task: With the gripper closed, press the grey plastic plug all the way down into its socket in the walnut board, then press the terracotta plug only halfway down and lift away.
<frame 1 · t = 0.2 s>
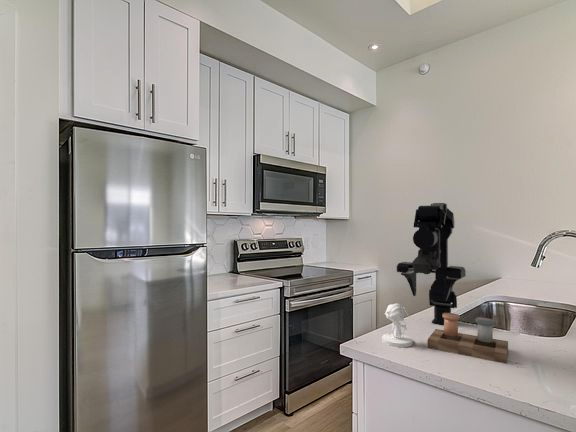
hand: (429, 298, 104), 14 cm above the worktop, tool pointing down, fingers open, 9 cm apart
socket board: (467, 348, 102), on the worktop
plug grey: (485, 329, 99), point 6 cm above the worktop, slide at 0.0 cm
figurine: (397, 342, 108), on the worktop
plug terracotta: (450, 324, 104), point 6 cm above the worktop, slide at 0.0 cm
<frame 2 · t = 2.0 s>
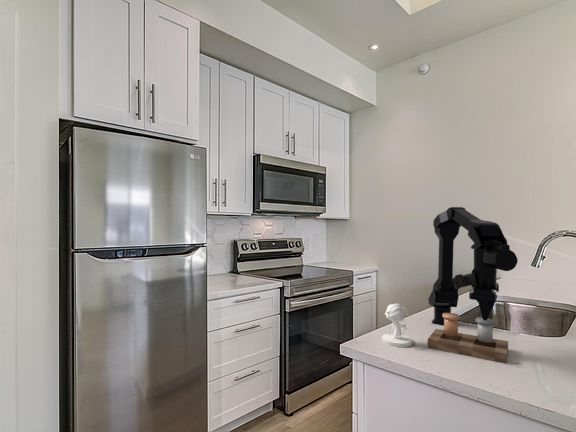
hand: (484, 319, 100), 9 cm above the worktop, tool pointing down, fingers closed, pressing on plug grey
plug grey: (485, 329, 99), point 6 cm above the worktop, slide at 0.0 cm, touching gripper
everything else where it was.
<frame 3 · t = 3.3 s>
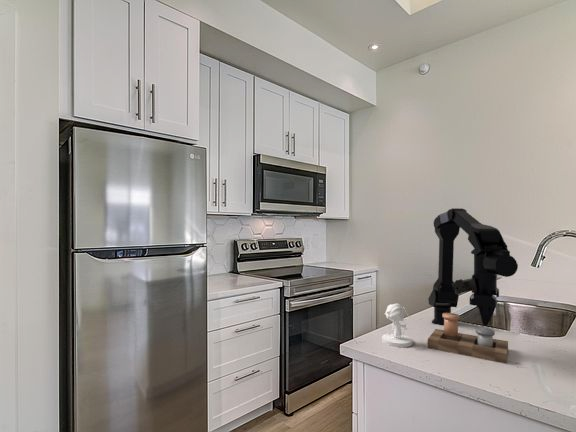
hand: (485, 325, 99), 8 cm above the worktop, tool pointing down, fingers closed
plug grey: (485, 340, 99), point 3 cm above the worktop, slide at 3.0 cm
everything else where it was.
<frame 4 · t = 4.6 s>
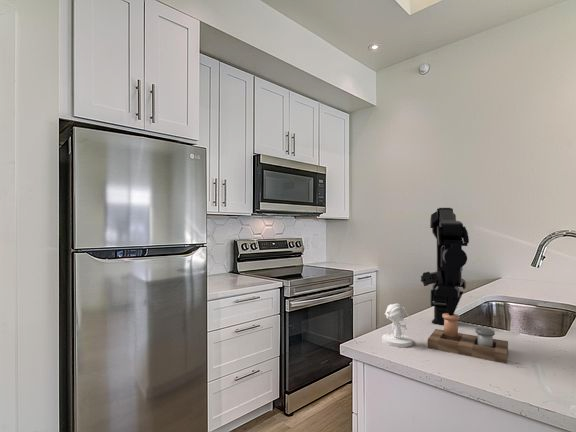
hand: (451, 315, 105), 9 cm above the worktop, tool pointing down, fingers closed, pressing on plug terracotta
plug terracotta: (450, 324, 104), point 6 cm above the worktop, slide at 0.1 cm, touching gripper
everything else where it was.
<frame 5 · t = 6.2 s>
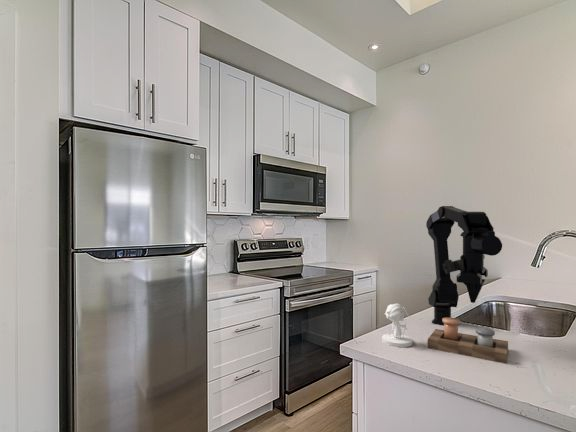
hand: (472, 302, 106), 13 cm above the worktop, tool pointing down, fingers closed
plug terracotta: (450, 329, 104), point 5 cm above the worktop, slide at 1.4 cm
everything else where it was.
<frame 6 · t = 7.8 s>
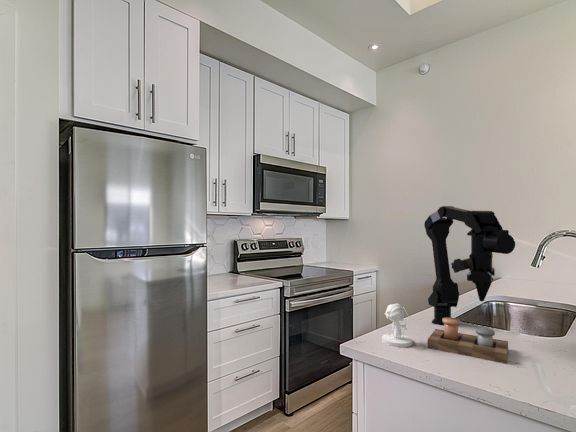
hand: (481, 301, 107), 13 cm above the worktop, tool pointing down, fingers closed
nothing on the worktop moved.
at the end: plug grey slide at 3.0 cm; plug terracotta slide at 1.4 cm; plug terracotta touching nothing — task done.
